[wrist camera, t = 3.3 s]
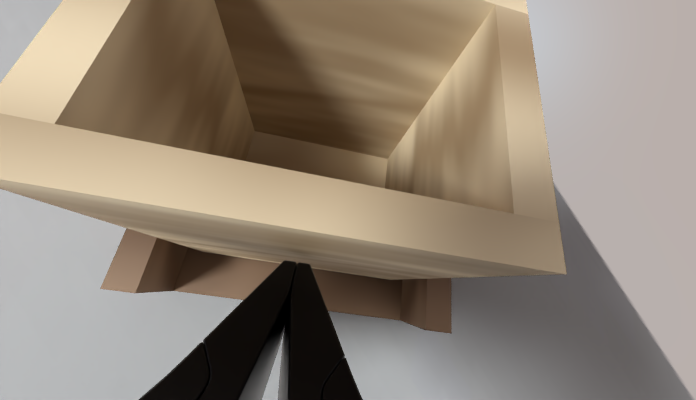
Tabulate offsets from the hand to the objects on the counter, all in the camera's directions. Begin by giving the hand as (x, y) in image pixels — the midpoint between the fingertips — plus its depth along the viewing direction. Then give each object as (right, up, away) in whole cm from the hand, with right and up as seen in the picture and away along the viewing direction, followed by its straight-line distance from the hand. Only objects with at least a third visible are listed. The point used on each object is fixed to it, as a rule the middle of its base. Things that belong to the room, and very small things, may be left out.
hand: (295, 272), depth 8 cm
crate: (0, +3, +7) cm, 7 cm away
